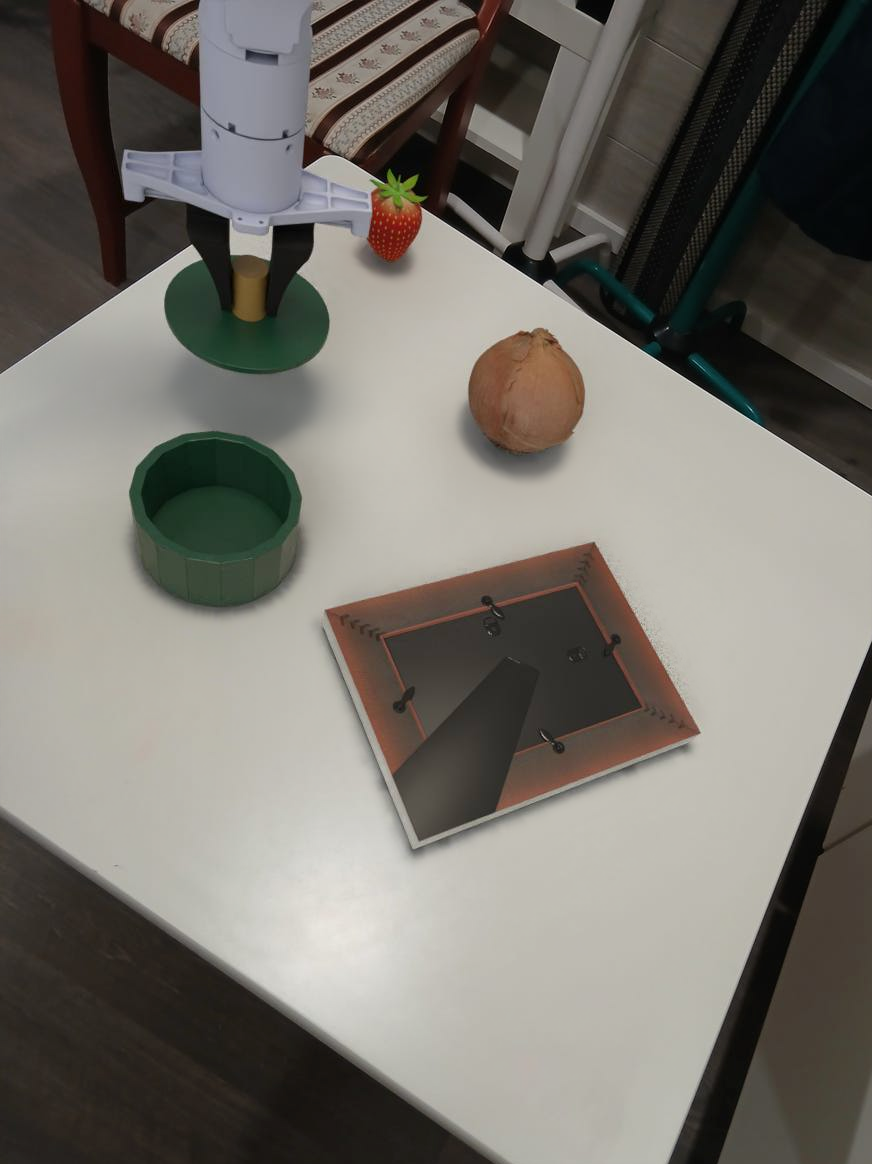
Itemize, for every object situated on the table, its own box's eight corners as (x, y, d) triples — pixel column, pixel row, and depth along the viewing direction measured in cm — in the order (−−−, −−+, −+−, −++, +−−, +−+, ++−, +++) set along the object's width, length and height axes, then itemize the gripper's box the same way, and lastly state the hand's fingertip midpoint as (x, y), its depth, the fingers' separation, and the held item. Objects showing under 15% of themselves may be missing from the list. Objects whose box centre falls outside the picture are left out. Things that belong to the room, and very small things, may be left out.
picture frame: (411, 852, 52) (686, 745, 60) (419, 841, 50) (702, 732, 58) (320, 625, 57) (583, 558, 66) (324, 607, 55) (595, 539, 64)
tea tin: (105, 559, 56) (94, 510, 51) (194, 459, 61) (192, 407, 57) (244, 632, 56) (246, 590, 51) (321, 526, 61) (329, 479, 57)
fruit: (404, 285, 76) (422, 205, 69) (349, 265, 75) (361, 182, 68) (418, 250, 78) (437, 169, 72) (365, 230, 78) (378, 147, 71)
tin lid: (130, 328, 57) (123, 270, 53) (222, 245, 63) (222, 187, 59) (277, 406, 57) (281, 354, 53) (355, 316, 63) (363, 262, 59)
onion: (488, 421, 75) (513, 304, 69) (584, 457, 72) (618, 339, 66) (435, 446, 67) (459, 318, 62) (540, 488, 64) (575, 357, 59)
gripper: (106, 126, 43) (132, 331, 55) (386, 176, 47) (355, 358, 59) (119, 49, 46) (140, 258, 58) (380, 102, 50) (351, 288, 62)
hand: (248, 303), depth 59 cm, fingers closed on tin lid, 2 cm apart
